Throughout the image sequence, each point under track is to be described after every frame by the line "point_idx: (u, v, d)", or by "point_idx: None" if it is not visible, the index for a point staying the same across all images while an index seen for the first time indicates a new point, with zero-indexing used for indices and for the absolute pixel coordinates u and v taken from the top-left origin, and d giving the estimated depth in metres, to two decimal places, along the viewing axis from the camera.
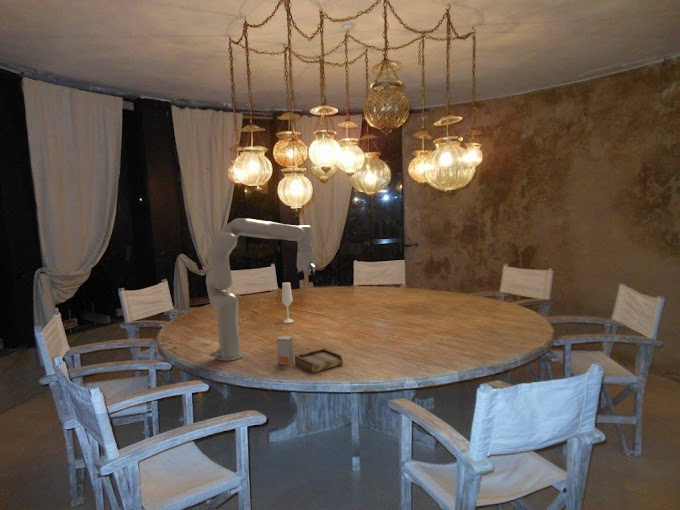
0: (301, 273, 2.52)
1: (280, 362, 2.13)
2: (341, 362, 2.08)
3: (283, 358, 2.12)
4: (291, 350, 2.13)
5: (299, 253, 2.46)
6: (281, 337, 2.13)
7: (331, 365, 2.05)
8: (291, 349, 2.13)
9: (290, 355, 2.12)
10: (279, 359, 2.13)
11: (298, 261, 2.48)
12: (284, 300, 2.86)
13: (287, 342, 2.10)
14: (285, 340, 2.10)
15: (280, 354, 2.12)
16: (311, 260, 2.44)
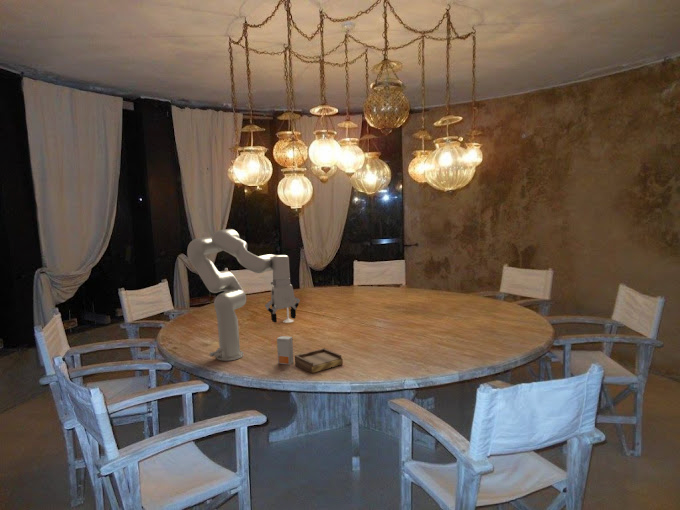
0: None
1: (280, 362, 2.13)
2: (341, 362, 2.08)
3: (283, 358, 2.12)
4: (291, 350, 2.13)
5: (282, 288, 2.07)
6: (281, 337, 2.13)
7: (331, 365, 2.05)
8: (291, 349, 2.13)
9: (290, 355, 2.12)
10: (279, 359, 2.13)
11: (280, 298, 2.07)
12: None
13: (287, 343, 2.10)
14: (285, 340, 2.10)
15: (281, 354, 2.12)
16: None
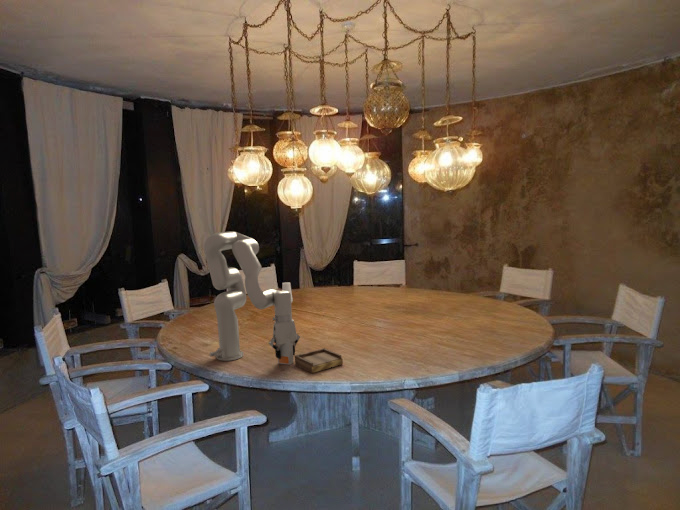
0: None
1: (280, 362, 2.13)
2: (341, 362, 2.08)
3: (283, 358, 2.12)
4: (291, 350, 2.13)
5: (284, 324, 2.09)
6: None
7: (331, 365, 2.05)
8: (291, 349, 2.13)
9: (290, 355, 2.12)
10: (279, 359, 2.13)
11: (282, 334, 2.09)
12: None
13: (287, 342, 2.10)
14: None
15: (281, 354, 2.12)
16: None
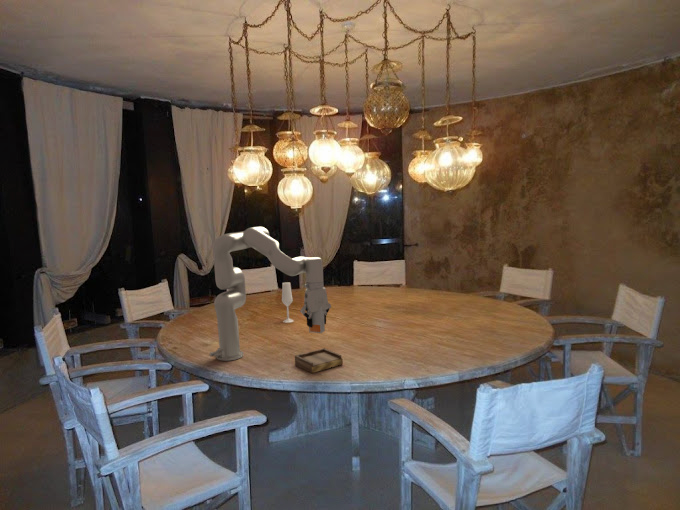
0: None
1: (311, 331, 2.07)
2: (341, 362, 2.08)
3: (315, 327, 2.06)
4: (323, 318, 2.07)
5: (315, 291, 2.04)
6: None
7: (331, 365, 2.05)
8: (323, 317, 2.07)
9: (322, 324, 2.07)
10: (310, 328, 2.07)
11: (314, 302, 2.03)
12: (284, 300, 2.86)
13: (319, 310, 2.05)
14: None
15: (312, 323, 2.07)
16: None
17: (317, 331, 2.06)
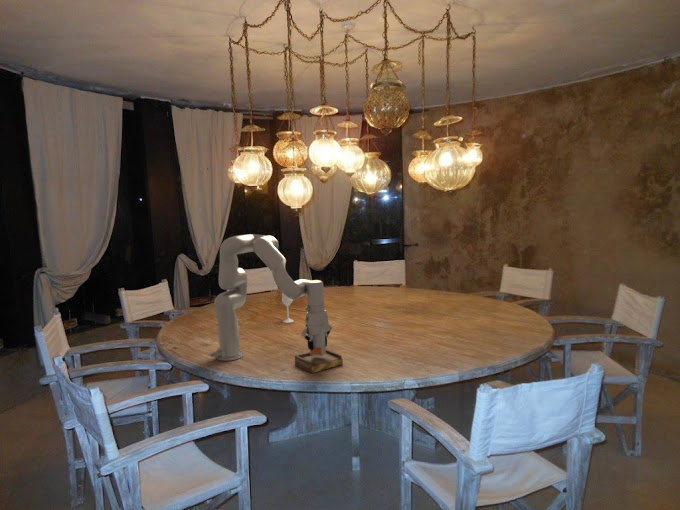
0: None
1: (312, 353, 2.08)
2: (341, 362, 2.08)
3: (316, 349, 2.07)
4: (324, 341, 2.09)
5: (316, 314, 2.05)
6: None
7: (331, 365, 2.05)
8: (324, 340, 2.08)
9: (323, 346, 2.08)
10: (311, 350, 2.08)
11: (315, 325, 2.04)
12: (284, 300, 2.86)
13: (320, 333, 2.06)
14: None
15: (313, 345, 2.08)
16: None
17: (318, 354, 2.07)
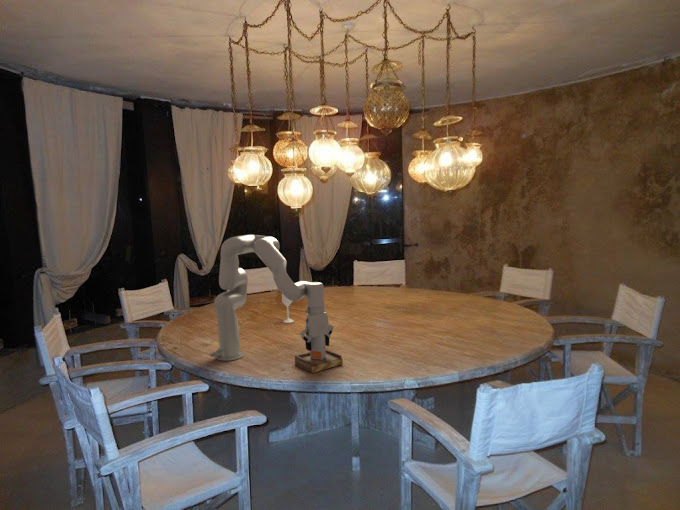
0: None
1: (312, 357, 2.09)
2: (341, 362, 2.08)
3: (316, 353, 2.08)
4: (324, 345, 2.09)
5: (317, 316, 2.05)
6: None
7: (331, 365, 2.05)
8: (324, 344, 2.09)
9: (323, 350, 2.08)
10: (311, 354, 2.09)
11: (315, 327, 2.05)
12: (284, 300, 2.86)
13: (320, 337, 2.06)
14: None
15: (313, 349, 2.08)
16: None
17: (318, 357, 2.08)
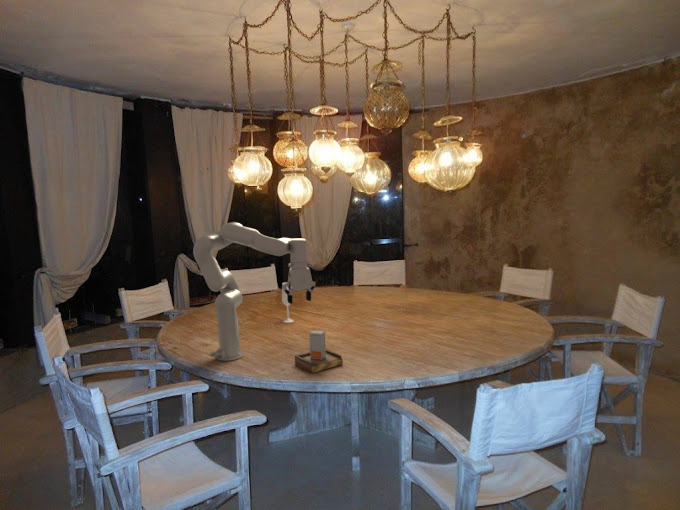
0: None
1: (312, 357, 2.09)
2: (341, 362, 2.08)
3: (316, 353, 2.08)
4: (324, 345, 2.09)
5: (299, 271, 2.13)
6: (314, 331, 2.09)
7: (331, 365, 2.05)
8: (324, 344, 2.09)
9: (323, 350, 2.08)
10: (311, 354, 2.09)
11: (296, 280, 2.13)
12: (284, 300, 2.86)
13: (320, 337, 2.06)
14: (318, 335, 2.06)
15: (313, 349, 2.08)
16: None
17: (318, 357, 2.08)
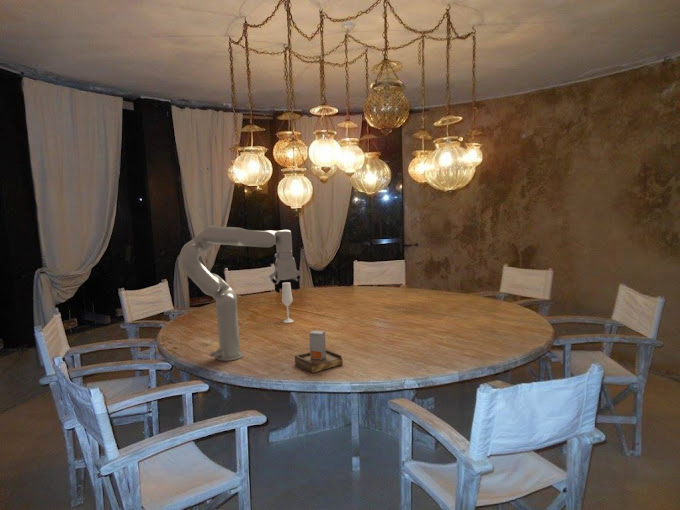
0: None
1: (312, 357, 2.09)
2: (341, 362, 2.08)
3: (316, 353, 2.08)
4: (324, 345, 2.09)
5: (285, 261, 2.23)
6: (314, 331, 2.09)
7: (331, 365, 2.05)
8: (324, 344, 2.09)
9: (323, 350, 2.08)
10: (311, 354, 2.09)
11: (283, 270, 2.23)
12: (284, 300, 2.86)
13: (320, 337, 2.06)
14: (318, 335, 2.06)
15: (313, 349, 2.08)
16: None
17: (318, 357, 2.08)
